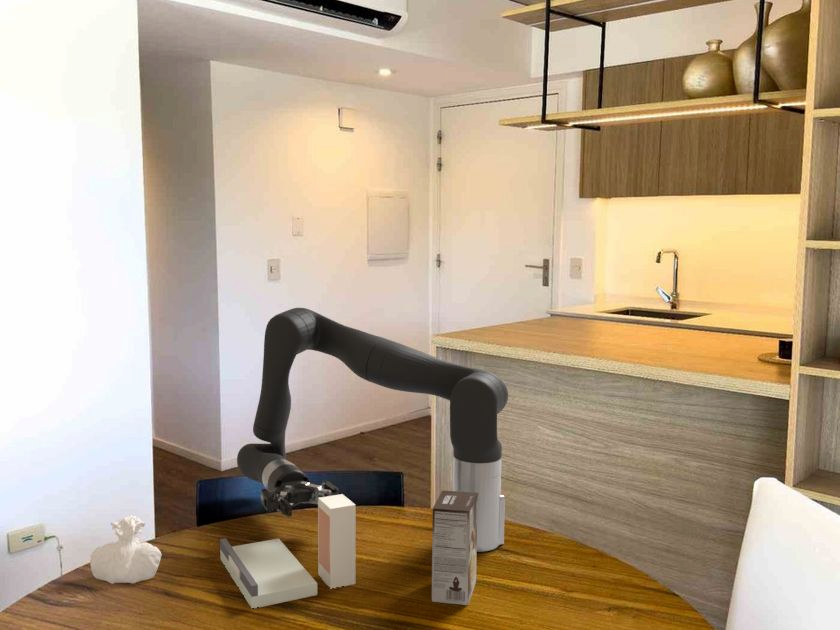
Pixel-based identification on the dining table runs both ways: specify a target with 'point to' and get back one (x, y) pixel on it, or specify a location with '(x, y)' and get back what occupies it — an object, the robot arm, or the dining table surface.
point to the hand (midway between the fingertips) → (312, 508)
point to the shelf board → (267, 572)
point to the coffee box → (454, 547)
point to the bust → (125, 555)
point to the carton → (336, 540)
